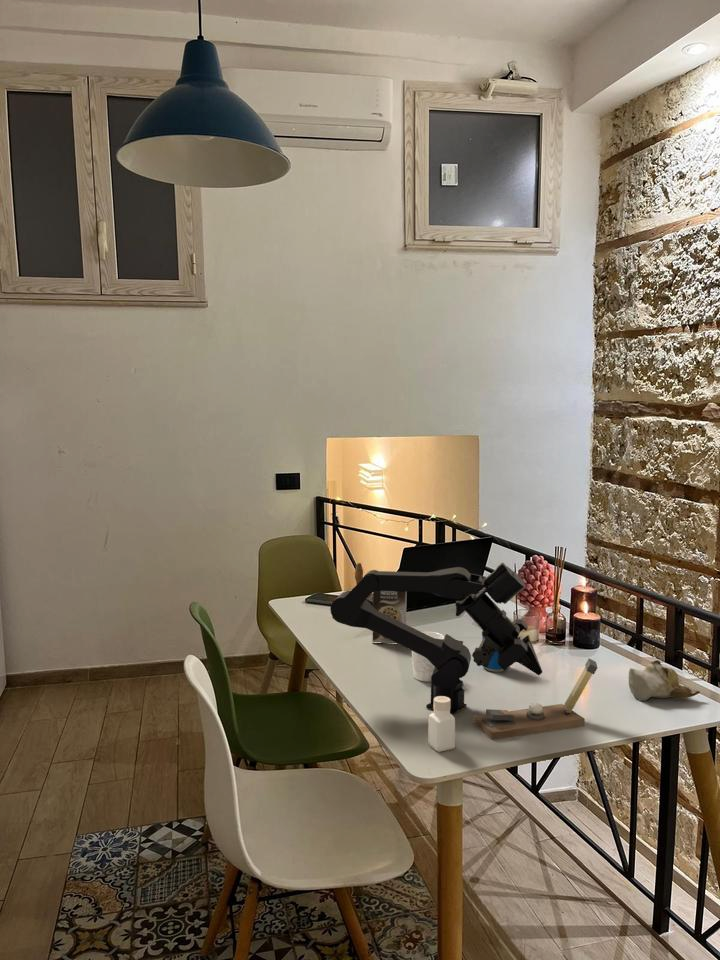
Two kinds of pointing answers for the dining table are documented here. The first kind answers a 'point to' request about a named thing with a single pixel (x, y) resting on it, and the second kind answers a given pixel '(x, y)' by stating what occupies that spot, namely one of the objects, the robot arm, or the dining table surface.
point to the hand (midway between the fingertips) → (540, 673)
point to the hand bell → (358, 573)
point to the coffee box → (389, 608)
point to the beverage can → (494, 663)
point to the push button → (535, 708)
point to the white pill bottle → (441, 725)
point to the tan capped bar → (580, 685)
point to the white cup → (424, 662)
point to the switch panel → (529, 722)
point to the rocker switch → (499, 714)
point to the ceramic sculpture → (657, 683)
